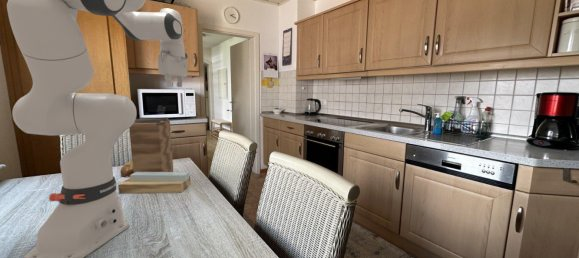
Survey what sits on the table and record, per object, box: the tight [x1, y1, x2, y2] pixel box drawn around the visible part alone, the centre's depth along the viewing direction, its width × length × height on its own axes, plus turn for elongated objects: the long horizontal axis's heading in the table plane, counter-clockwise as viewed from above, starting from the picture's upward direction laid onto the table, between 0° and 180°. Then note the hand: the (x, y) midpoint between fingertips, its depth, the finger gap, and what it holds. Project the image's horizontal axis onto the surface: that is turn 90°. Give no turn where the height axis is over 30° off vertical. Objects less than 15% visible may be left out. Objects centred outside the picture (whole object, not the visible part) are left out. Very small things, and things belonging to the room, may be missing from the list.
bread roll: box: [120, 160, 134, 178], centre depth 119 cm, size 10×10×8 cm
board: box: [117, 174, 191, 194], centre depth 102 cm, size 10×24×4 cm, turn 92°
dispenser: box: [128, 116, 174, 173], centre depth 111 cm, size 11×12×28 cm
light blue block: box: [129, 171, 190, 181], centre depth 102 cm, size 4×22×2 cm, turn 90°
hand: (175, 86), depth 104 cm, fingers open, 8 cm apart
